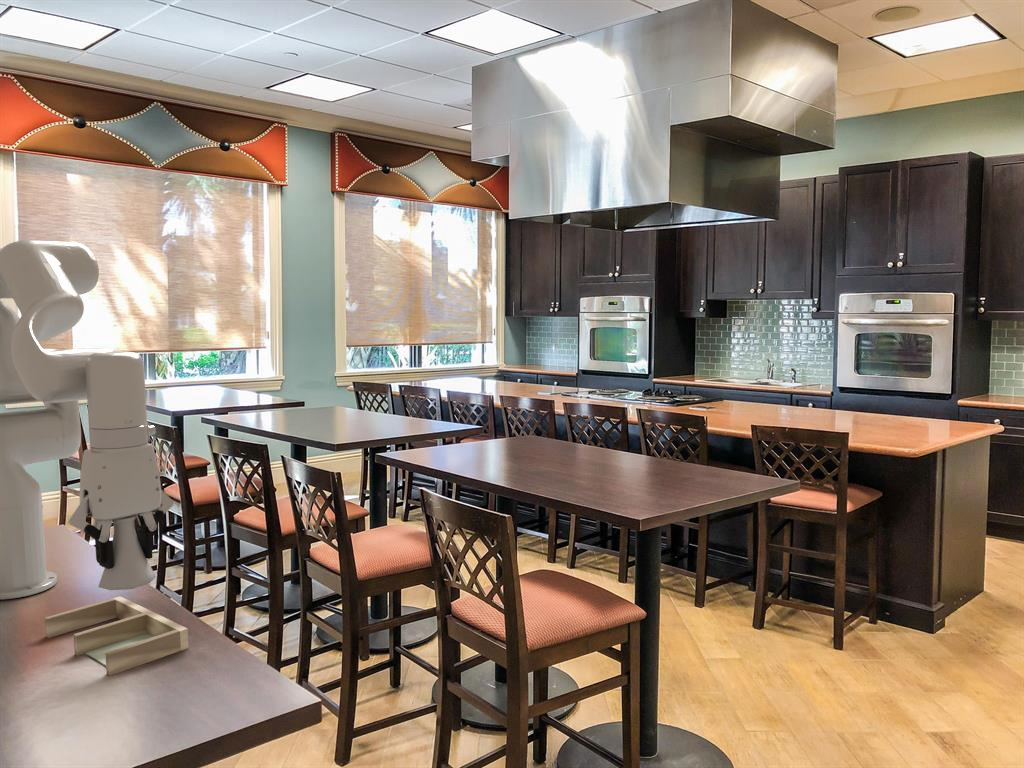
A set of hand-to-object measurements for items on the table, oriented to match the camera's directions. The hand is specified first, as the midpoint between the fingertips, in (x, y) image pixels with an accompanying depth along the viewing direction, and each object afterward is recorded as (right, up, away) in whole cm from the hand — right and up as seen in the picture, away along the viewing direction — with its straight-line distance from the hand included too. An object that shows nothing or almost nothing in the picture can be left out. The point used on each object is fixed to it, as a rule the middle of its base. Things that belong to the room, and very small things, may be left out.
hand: (126, 560), depth 121 cm
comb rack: (-4, -13, +5) cm, 15 cm away
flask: (0, -4, 0) cm, 4 cm away
